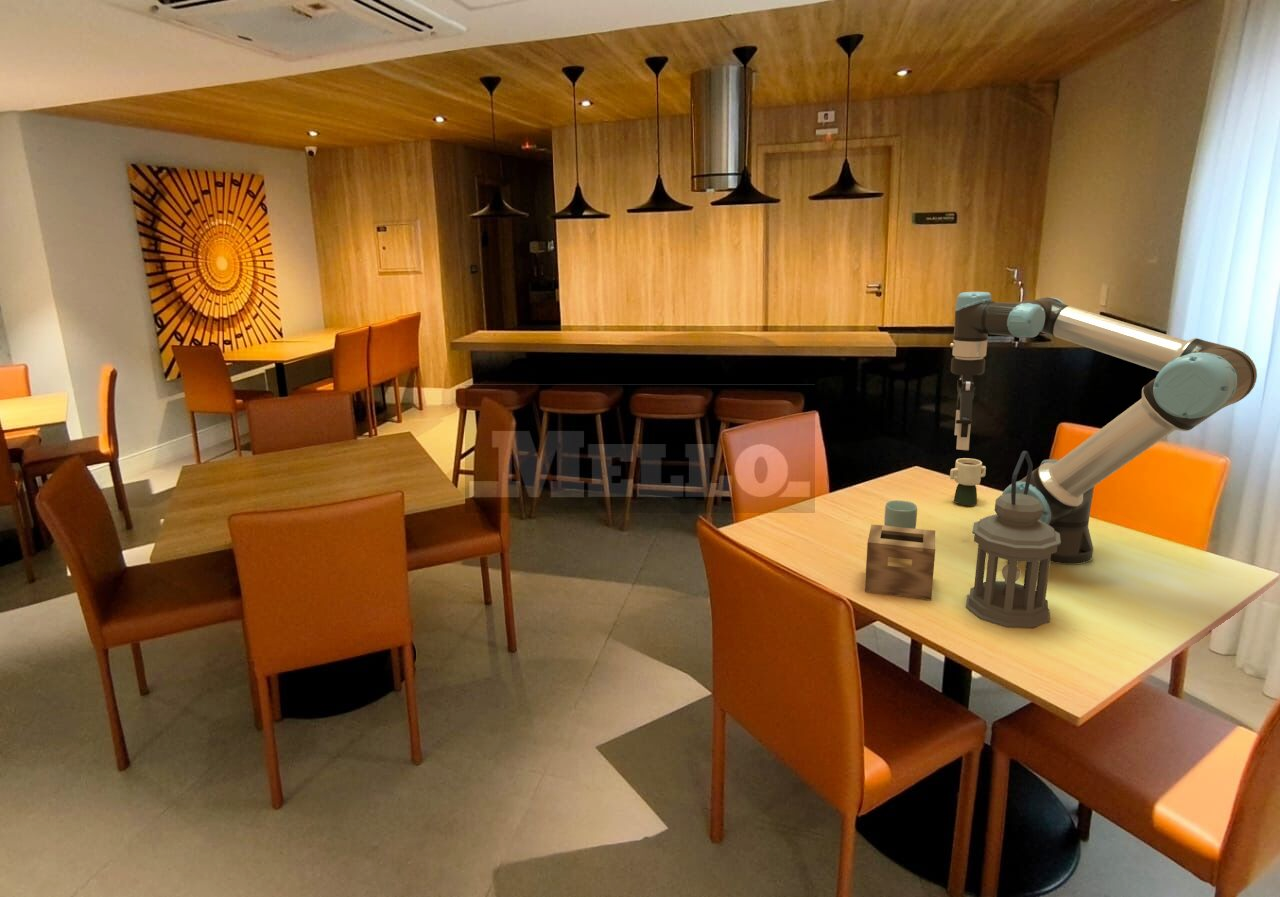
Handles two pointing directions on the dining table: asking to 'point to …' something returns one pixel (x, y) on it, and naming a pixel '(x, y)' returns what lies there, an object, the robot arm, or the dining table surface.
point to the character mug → (967, 480)
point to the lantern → (1013, 560)
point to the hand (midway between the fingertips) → (961, 442)
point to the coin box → (900, 561)
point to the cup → (900, 514)
